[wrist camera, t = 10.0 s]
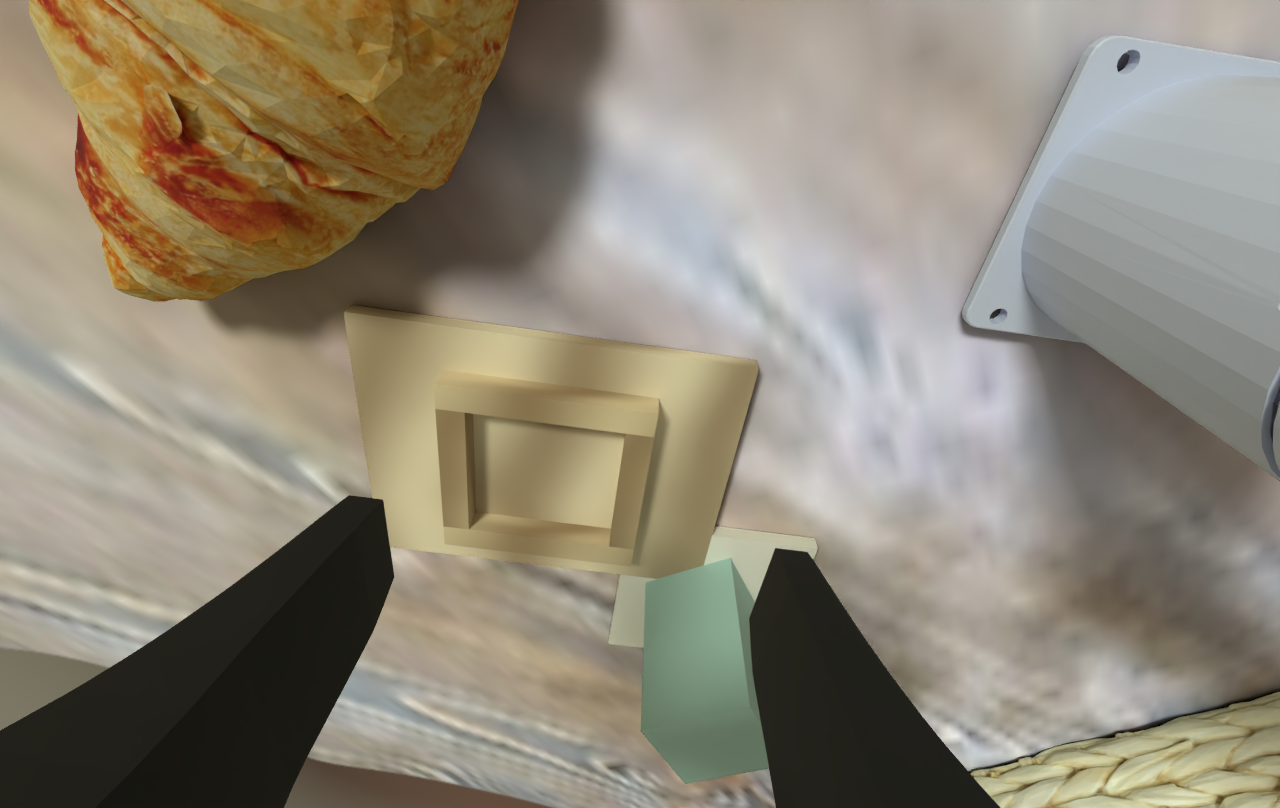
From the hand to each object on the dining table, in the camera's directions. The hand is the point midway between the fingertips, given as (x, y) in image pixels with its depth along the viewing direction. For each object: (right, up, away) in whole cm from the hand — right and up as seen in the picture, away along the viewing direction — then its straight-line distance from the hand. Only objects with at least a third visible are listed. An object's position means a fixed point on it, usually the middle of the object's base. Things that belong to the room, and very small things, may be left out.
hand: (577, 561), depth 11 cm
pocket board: (-2, +1, +12) cm, 12 cm away
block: (+4, -6, +15) cm, 17 cm away
